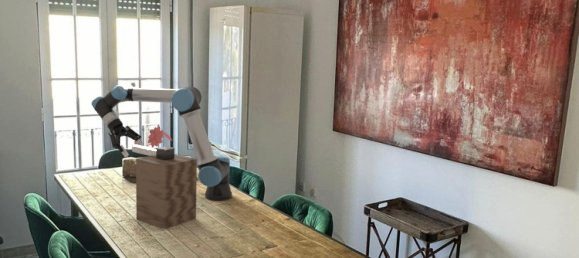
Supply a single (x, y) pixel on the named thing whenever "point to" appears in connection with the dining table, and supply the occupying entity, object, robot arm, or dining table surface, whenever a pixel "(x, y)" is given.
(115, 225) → the dining table surface
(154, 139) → the pink flower sprig
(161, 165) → the pedestal
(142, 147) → the light grey rectangular bar
